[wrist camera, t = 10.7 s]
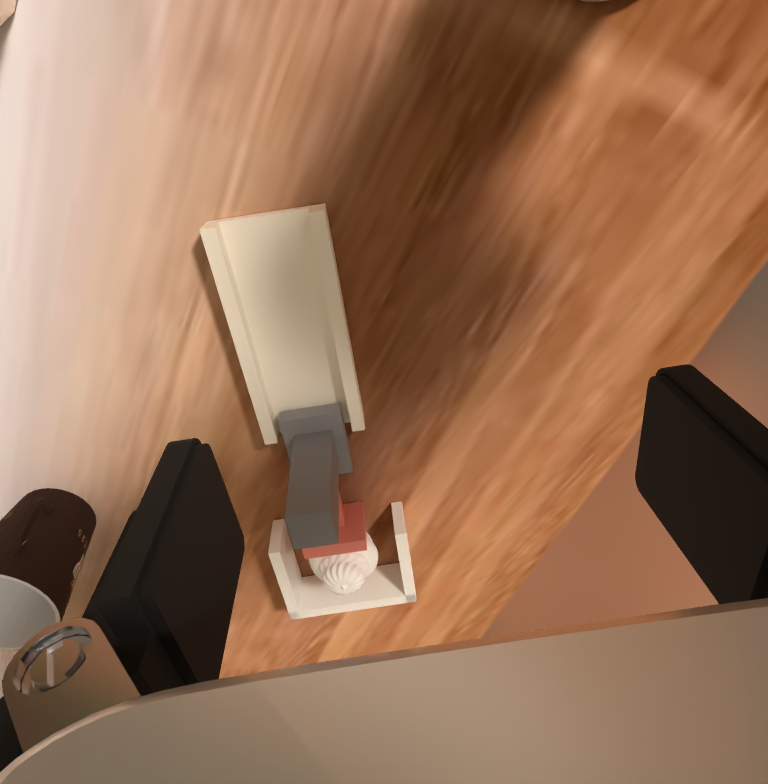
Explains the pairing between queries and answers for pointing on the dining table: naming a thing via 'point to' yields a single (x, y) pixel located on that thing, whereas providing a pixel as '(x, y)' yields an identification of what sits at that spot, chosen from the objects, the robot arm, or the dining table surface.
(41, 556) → the coffee mug
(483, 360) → the dining table surface
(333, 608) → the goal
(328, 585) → the white ribbed dome
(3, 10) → the white cup
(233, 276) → the track
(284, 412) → the block
